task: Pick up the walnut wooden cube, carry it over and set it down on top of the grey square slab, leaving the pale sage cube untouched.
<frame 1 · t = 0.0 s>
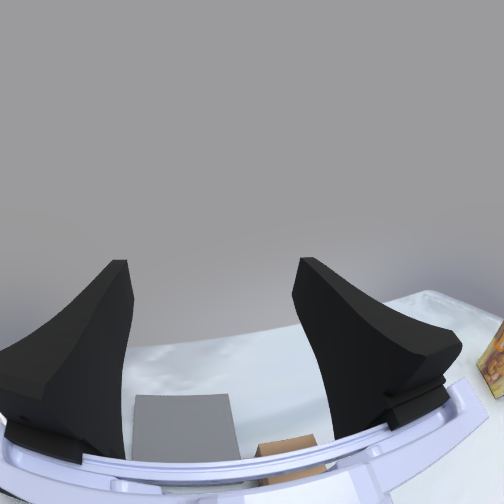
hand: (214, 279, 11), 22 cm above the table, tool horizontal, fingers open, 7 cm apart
candy box: (490, 380, 27), on the table
grey square slab: (186, 446, 22), on the table
walnut cube: (283, 476, 19), on the table
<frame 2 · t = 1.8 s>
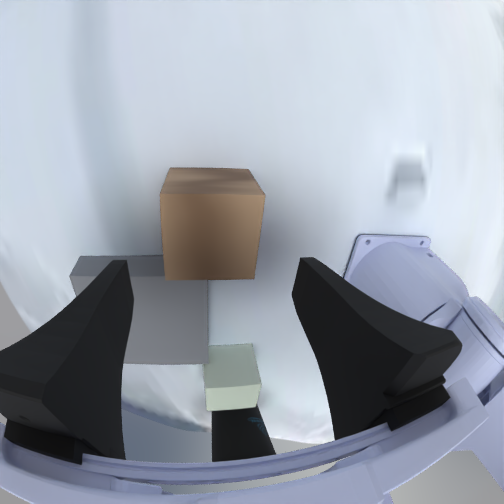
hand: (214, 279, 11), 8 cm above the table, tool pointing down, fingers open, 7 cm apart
sage cube: (225, 358, 27), on the table
grey square slab: (148, 302, 22), on the table
dixie cup: (231, 392, 32), on the table
walnut cube: (207, 203, 18), on the table
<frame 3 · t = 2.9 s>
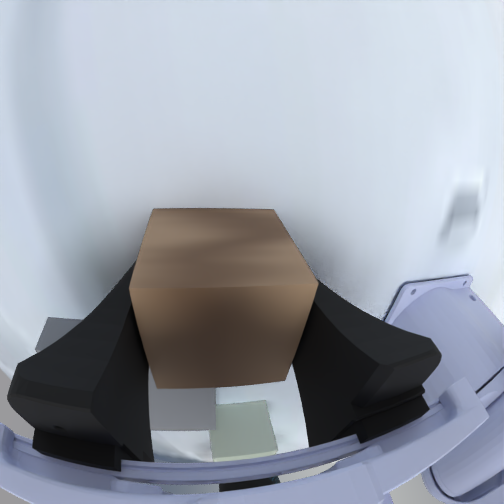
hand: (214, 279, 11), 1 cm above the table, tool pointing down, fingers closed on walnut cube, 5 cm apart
sage cube: (234, 413, 22), on the table
grey square slab: (139, 366, 16), on the table
dixie cup: (239, 437, 26), on the table
walnut cube: (212, 259, 12), on the table, touching gripper
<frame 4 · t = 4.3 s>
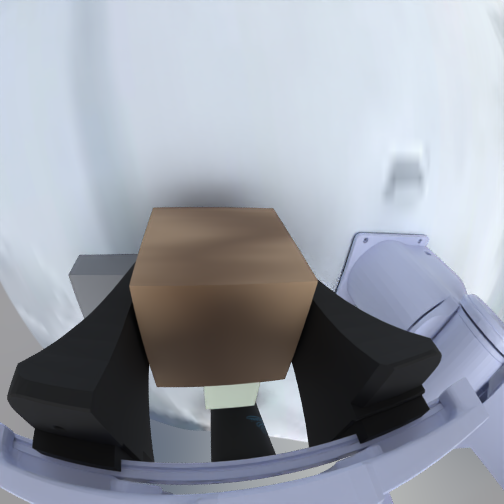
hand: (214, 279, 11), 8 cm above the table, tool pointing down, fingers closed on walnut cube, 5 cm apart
sage cube: (224, 357, 27), on the table
grey square slab: (147, 300, 22), on the table
dixie cup: (230, 390, 32), on the table
walnut cube: (212, 258, 12), point 7 cm above the table, touching gripper
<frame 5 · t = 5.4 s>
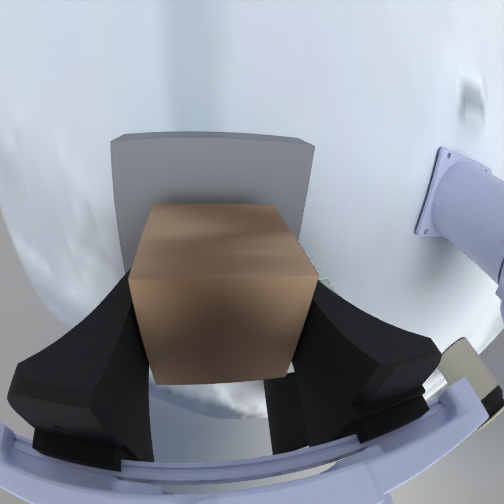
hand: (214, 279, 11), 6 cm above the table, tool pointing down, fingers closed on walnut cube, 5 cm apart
grey square slab: (207, 210, 17), on the table
travel mug: (450, 350, 39), on the table
dixie cup: (285, 359, 27), on the table
walnut cube: (212, 255, 12), point 5 cm above the table, touching gripper
when the fingers open (6 cm above the table, at t = 6.0 s): walnut cube drops 2 cm, resting on grey square slab.
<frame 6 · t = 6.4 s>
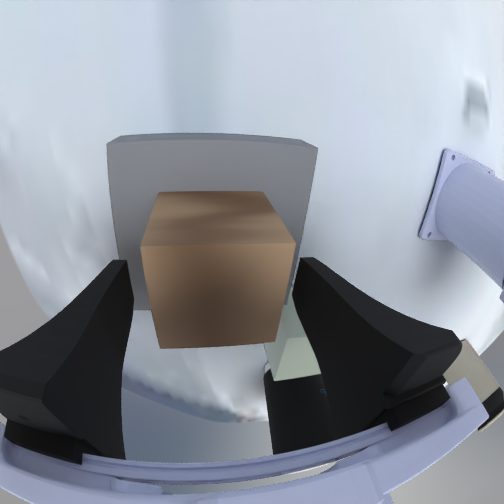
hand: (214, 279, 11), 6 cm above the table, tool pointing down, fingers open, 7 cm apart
sage cube: (294, 309, 22), on the table
grey square slab: (207, 213, 16), on the table, touching walnut cube
travel mug: (451, 352, 39), on the table
dixie cup: (286, 363, 26), on the table
walnut cube: (210, 237, 14), point 2 cm above the table, touching grey square slab
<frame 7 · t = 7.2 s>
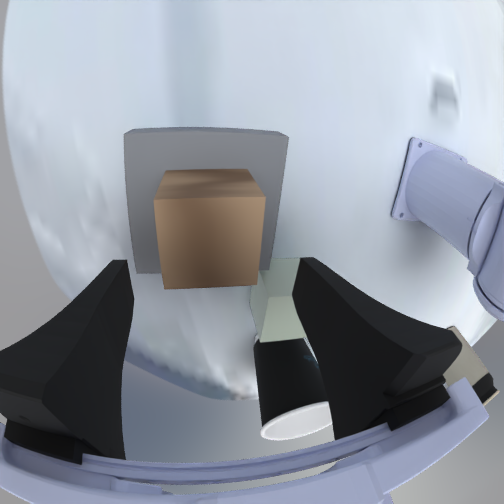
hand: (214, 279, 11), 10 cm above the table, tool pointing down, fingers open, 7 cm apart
sage cube: (278, 280, 25), on the table
grey square slab: (202, 193, 20), on the table, touching walnut cube
travel mug: (440, 339, 42), on the table
dixie cup: (275, 336, 29), on the table
walnut cube: (206, 206, 17), point 2 cm above the table, touching grey square slab
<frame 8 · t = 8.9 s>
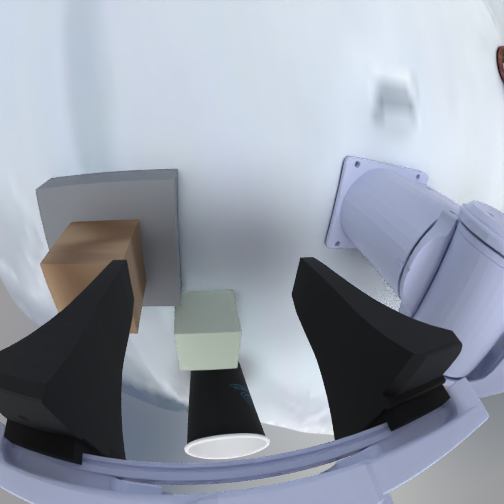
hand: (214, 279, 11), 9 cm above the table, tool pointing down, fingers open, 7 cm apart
sage cube: (204, 310, 25), on the table
grey square slab: (117, 232, 19), on the table, touching walnut cube
dixie cup: (214, 359, 29), on the table
walnut cube: (108, 253, 17), point 2 cm above the table, touching grey square slab
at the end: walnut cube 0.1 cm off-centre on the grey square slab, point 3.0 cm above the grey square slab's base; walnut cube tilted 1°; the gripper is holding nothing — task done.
